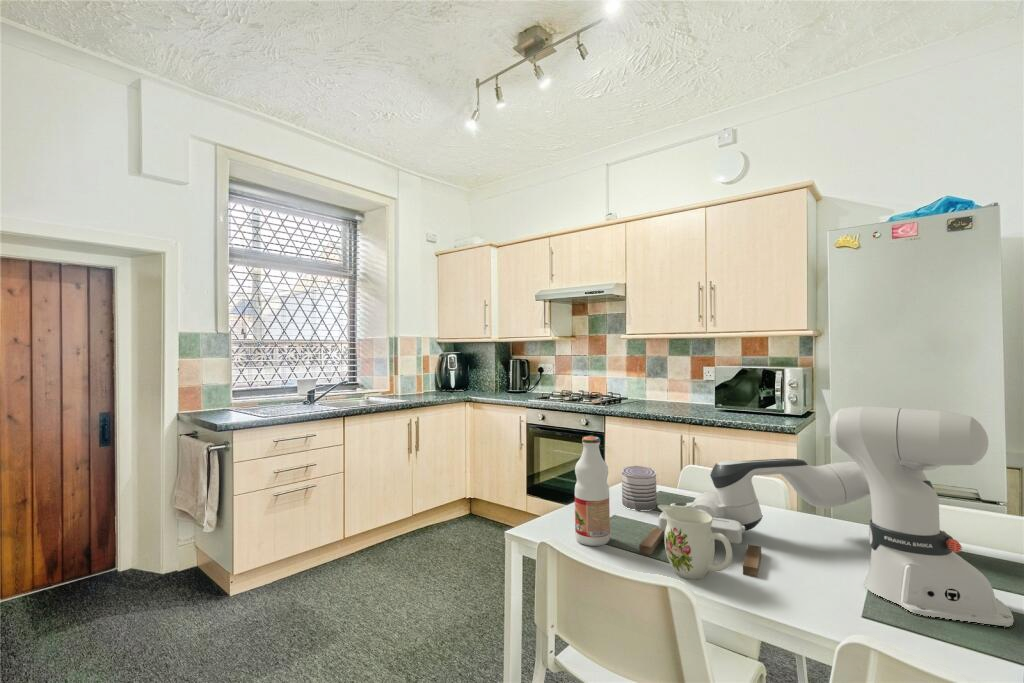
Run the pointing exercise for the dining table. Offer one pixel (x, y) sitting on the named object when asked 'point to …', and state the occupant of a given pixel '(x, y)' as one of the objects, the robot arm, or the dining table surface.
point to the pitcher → (692, 542)
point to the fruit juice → (592, 496)
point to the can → (639, 488)
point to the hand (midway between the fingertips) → (694, 536)
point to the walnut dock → (749, 564)
